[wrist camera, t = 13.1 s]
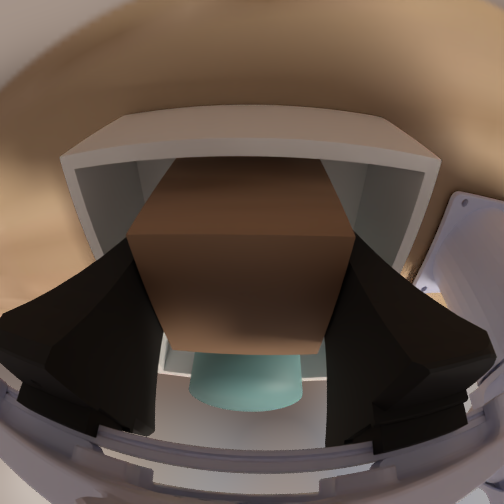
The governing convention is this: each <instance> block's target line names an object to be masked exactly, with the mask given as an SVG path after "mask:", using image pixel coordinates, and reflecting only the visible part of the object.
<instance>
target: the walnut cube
mask: <svg viewBox="0 0 504 504" xmlns="http://www.w3.org/2000/svg"><path fill="white" fill-rule="evenodd" d="M126 237H127V240H128V243H129V246H130V249H131V252H132V254H133V257H134V260H135V263H136V265H137V268H138V271H139V273H140V276H141V279H142V281H143V284H144V286H145V289H146V291H147V294H148V296H149V299H150V301H151V303H152V306H153V308H154V310H155V313H156V315H157V317H158V320H159V322H160V324H161V326H162V328H163V331H164V333H165V335H166V337H167V339H168V341H169V344H170V346H171V348H172V350H178V351H190V352H203V353H219V354H242V355H307V354H318V351H319V349H320V346H321V343H322V341H323V338H324V335H325V333H326V330H327V327H328V324H329V321H330V319H331V316H332V313H333V310H334V307H335V304H336V301H337V298H338V295H339V292H340V289H341V286H342V282H343V279H344V276H345V273H346V269H347V266H348V263H349V259H350V256H351V252H352V249H353V245H354V241H355V237H356V236H355V234H354V232H353V229H352V227H351V224H350V222H349V220H348V218H347V215H346V213H345V211H344V208H343V206H342V204H341V202H340V200H339V197H338V195H337V193H336V191H335V189H334V187H333V185H332V183H331V180H330V178H329V176H328V174H327V172H326V170H325V168H324V166H323V164H322V162H321V160H320V159H312V158H295V157H269V156H209V157H184V158H176V159H175V160H174V162H173V163H172V165H171V166H170V167H169V169H168V170H167V172H166V173H165V174H164V176H163V177H162V179H161V180H160V182H159V183H158V185H157V186H156V188H155V189H154V190H153V192H152V193H151V195H150V197H149V198H148V200H147V201H146V203H145V204H144V206H143V207H142V209H141V210H140V212H139V214H138V215H137V217H136V218H135V220H134V222H133V223H132V225H131V227H130V228H129V230H128V232H127V233H126Z"/></svg>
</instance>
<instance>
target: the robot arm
mask: <svg viewBox="0 0 504 504" xmlns="http://www.w3.org/2000/svg"><path fill="white" fill-rule="evenodd" d="M464 199H465V200H464ZM463 200H464V201H463ZM462 201H463V202H462ZM353 232H354V234H355V236H356V237H355V241H354V245H353V249H352V252H351V256H350V259H349V263H348V266H347V269H346V273H345V276H344V279H343V282H342V286H341V289H340V292H339V295H338V298H337V301H336V304H335V307H334V310H333V313H332V316H331V319H330V321H329V324H328V327H327V330H326V333H325V335H324V339H325V352H326V370H327V423H326V439H325V448H316V449H302V450H274V451H262V450H234V449H220V448H209V447H200V446H192V445H185V444H179V443H172V442H167V441H162V440H156V439H152V438H147V437H143V436H149V435H151V434H152V433H153V432H154V431H155V397H156V384H157V374H158V365H159V357H160V351H161V344H162V338H163V333H164V331H163V328H162V326H161V324H160V322H159V320H158V317H157V315H156V313H155V310H154V308H153V306H152V303H151V301H150V299H149V296H148V294H147V291H146V289H145V286H144V284H143V281H142V279H141V276H140V273H139V271H138V268H137V265H136V263H135V260H134V257H133V254H132V252H131V249H130V246H129V243H128V240H127V237H126V238H124V239H123V240H122V241H121V242H119V243H118V244H117V245H116V246H114V247H113V248H112V249H111V250H110V251H108V252H107V253H106V254H105V255H103V256H102V257H101V258H99V259H98V260H97V261H95V262H94V263H92V264H91V265H90V266H88V267H87V268H85V269H84V270H83V271H81V272H80V273H78V274H76V275H75V276H73V277H72V278H70V279H68V280H67V281H65V282H64V283H62V284H61V285H59V286H57V287H56V288H54V289H52V290H50V291H49V292H47V293H45V294H43V295H41V296H39V297H37V298H36V299H34V300H32V301H30V302H28V303H26V304H23V305H21V306H19V307H17V308H14V309H12V310H10V311H8V312H5V313H3V314H2V316H1V318H0V363H1V364H2V365H3V366H4V367H6V368H7V369H8V370H9V371H10V372H11V373H12V374H14V375H15V376H16V377H17V378H18V379H20V380H21V381H22V382H23V383H22V386H21V388H20V391H18V390H16V389H14V388H12V387H10V386H9V385H7V383H6V382H4V381H3V380H2V379H1V378H0V458H1V459H2V460H3V461H4V462H5V463H6V464H7V465H8V466H9V467H10V468H11V469H12V470H13V471H14V472H15V473H16V474H17V475H18V476H19V477H20V478H21V479H23V480H24V481H25V482H26V483H27V484H28V485H29V486H31V487H32V488H33V489H34V490H35V491H36V492H38V493H39V494H40V495H41V496H43V497H44V498H45V499H46V500H48V501H49V502H50V503H52V504H456V503H457V502H459V501H460V500H462V499H463V498H465V497H466V496H467V495H469V494H470V493H471V492H473V491H474V490H475V489H477V488H480V489H482V490H483V491H484V492H485V493H486V494H487V496H488V498H489V501H490V504H504V201H501V200H497V199H493V198H489V197H484V196H480V195H475V194H471V193H466V192H461V191H456V192H454V193H453V194H452V195H451V197H450V200H449V203H448V205H447V208H446V211H445V213H444V216H443V218H442V221H441V223H440V226H439V228H438V231H437V233H436V235H435V238H434V240H433V242H432V244H431V247H430V249H429V251H428V253H427V255H426V258H425V260H424V262H423V264H422V266H421V268H420V270H419V272H418V274H417V276H416V278H415V280H414V282H413V283H412V284H411V283H410V282H409V281H408V280H406V279H405V278H404V277H403V276H402V275H400V274H399V273H398V272H397V271H396V270H394V269H393V268H392V267H391V266H390V265H389V264H387V263H386V262H385V261H384V260H383V259H382V258H381V257H380V256H379V255H378V254H377V253H376V252H375V251H374V250H373V249H371V248H370V247H369V246H368V245H367V244H366V243H365V242H364V241H363V240H362V239H361V238H360V237H359V236H358V234H357V233H356V232H355V231H354V230H353ZM437 292H441V294H442V296H443V298H444V300H445V302H446V304H447V306H448V309H447V308H446V307H444V306H442V305H441V304H439V303H438V302H436V301H435V300H433V299H432V298H430V297H429V296H428V295H426V294H425V293H437ZM475 382H477V385H478V388H477V389H476V390H475V391H474V392H472V393H471V394H470V395H469V396H470V400H471V404H472V406H471V408H470V410H469V411H468V413H466V412H465V408H464V404H463V403H464V402H466V401H467V400H468V395H467V391H466V389H467V388H469V387H470V386H471V385H473V384H474V383H475ZM123 431H125V432H123ZM126 432H129V433H126ZM130 433H134V434H138V435H143V436H138V435H134V434H130ZM99 446H100V447H104V448H107V449H110V450H113V451H116V452H119V453H123V454H126V455H130V456H133V457H138V458H141V459H145V460H149V461H154V462H159V463H163V464H169V465H174V466H180V467H186V468H193V469H200V470H208V471H218V472H231V473H249V474H280V473H281V474H283V473H303V472H314V471H323V470H333V469H340V468H346V467H352V466H358V465H363V464H368V463H373V462H375V463H374V464H373V465H372V466H371V468H370V470H367V471H363V472H358V473H353V474H347V475H341V476H337V477H332V478H325V479H321V480H320V481H319V492H313V493H299V494H237V493H223V492H212V491H203V490H195V489H188V488H182V487H176V486H170V485H165V484H160V483H155V482H153V481H152V480H153V470H152V469H149V468H145V467H142V466H138V465H135V464H131V463H128V462H126V461H122V460H119V459H116V458H113V457H110V456H107V455H105V454H104V453H103V451H102V449H101V448H100V447H99Z"/></svg>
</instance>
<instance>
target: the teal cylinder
mask: <svg viewBox="0 0 504 504" xmlns="http://www.w3.org/2000/svg"><path fill="white" fill-rule="evenodd" d="M189 391H190V393H191V395H192V396H194V397H195V398H197V399H198V400H199V401H201V402H203V403H206V404H208V405H211V406H214V407H219V408H222V409H228V410H235V411H269V410H275V409H280V408H284V407H287V406H290V405H292V404H294V403H296V402H297V401H298V400H300V398H301V397H302V376H301V361H300V355H242V354H219V353H203V352H195V354H194V360H193V366H192V372H191V379H190V385H189Z"/></svg>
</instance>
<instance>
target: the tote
mask: <svg viewBox="0 0 504 504" xmlns="http://www.w3.org/2000/svg"><path fill="white" fill-rule="evenodd" d="M209 156H269V157H295V158H312V159H320V160H321V162H322V164H323V166H324V168H325V170H326V172H327V174H328V176H329V178H330V180H331V183H332V185H333V187H334V189H335V191H336V193H337V195H338V197H339V200H340V202H341V204H342V206H343V208H344V211H345V213H346V215H347V218H348V220H349V222H350V224H351V227H352V229H353V230H354V231H355V232H356V233H357V234H358V236H359V237H360V238H361V239H362V240H363V241H364V242H365V243H366V244H367V245H368V246H369V247H370V248H371V249H373V250H374V251H375V252H376V253H377V254H378V255H379V256H380V257H381V258H382V259H383V260H384V261H385V262H386V263H387V264H389V265H390V266H391V267H392V268H393V269H394V270H396V271H397V272H398V273H399V274H400V273H401V271H402V268H403V266H404V264H405V262H406V260H407V257H408V255H409V253H410V250H411V248H412V246H413V243H414V241H415V238H416V236H417V233H418V231H419V228H420V226H421V223H422V220H423V218H424V215H425V212H426V209H427V206H428V204H429V201H430V198H431V195H432V192H433V188H434V185H435V182H436V179H437V175H438V172H439V169H440V165H441V161H442V160H441V159H440V158H439V157H437V156H436V155H435V154H434V153H432V152H431V151H430V150H428V149H427V148H426V147H424V146H423V145H422V144H420V143H419V142H418V141H416V140H415V139H414V138H412V137H411V136H409V135H408V134H407V133H405V132H404V131H402V130H401V129H399V128H398V127H396V126H395V125H393V124H392V123H390V122H389V121H387V120H386V119H384V118H382V117H378V116H373V115H367V114H361V113H355V112H348V111H340V110H332V109H323V108H313V107H300V106H284V105H212V106H195V107H183V108H173V109H164V110H155V111H148V112H141V113H135V114H129V115H124V116H122V117H120V118H118V119H117V120H115V121H113V122H111V123H110V124H108V125H106V126H105V127H103V128H101V129H100V130H98V131H97V132H95V133H93V134H92V135H90V136H89V137H87V138H86V139H84V140H83V141H81V142H80V143H78V144H77V145H75V146H74V147H73V148H71V149H70V150H68V151H67V152H66V153H64V154H63V155H61V156H60V157H59V158H60V161H61V165H62V168H63V172H64V175H65V179H66V182H67V185H68V188H69V191H70V194H71V197H72V200H73V203H74V206H75V209H76V212H77V215H78V217H79V220H80V223H81V225H82V228H83V230H84V233H85V235H86V238H87V240H88V243H89V245H90V248H91V250H92V252H93V255H94V257H95V259H96V261H97V260H98V259H99V258H101V257H102V256H103V255H105V254H106V253H107V252H108V251H110V250H111V249H112V248H113V247H114V246H116V245H117V244H118V243H119V242H121V241H122V240H123V239H124V238H126V233H127V232H128V230H129V228H130V227H131V225H132V223H133V222H134V220H135V218H136V217H137V215H138V214H139V212H140V210H141V209H142V207H143V206H144V204H145V203H146V201H147V200H148V198H149V197H150V195H151V193H152V192H153V190H154V189H155V188H156V186H157V185H158V183H159V182H160V180H161V179H162V177H163V176H164V174H165V173H166V172H167V170H168V169H169V167H170V166H171V165H172V163H173V162H174V160H175V159H176V158H184V157H209ZM194 354H195V352H190V351H178V350H172V348H171V346H170V344H169V341H168V339H167V337H166V335H165V333H163V338H162V344H161V351H160V357H159V365H158V373H162V374H169V375H177V376H185V377H191V372H192V366H193V360H194ZM300 361H301V376H302V381H314V380H327V370H326V352H325V339H324V338H323V341H322V343H321V346H320V349H319V351H318V354H307V355H300Z"/></svg>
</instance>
